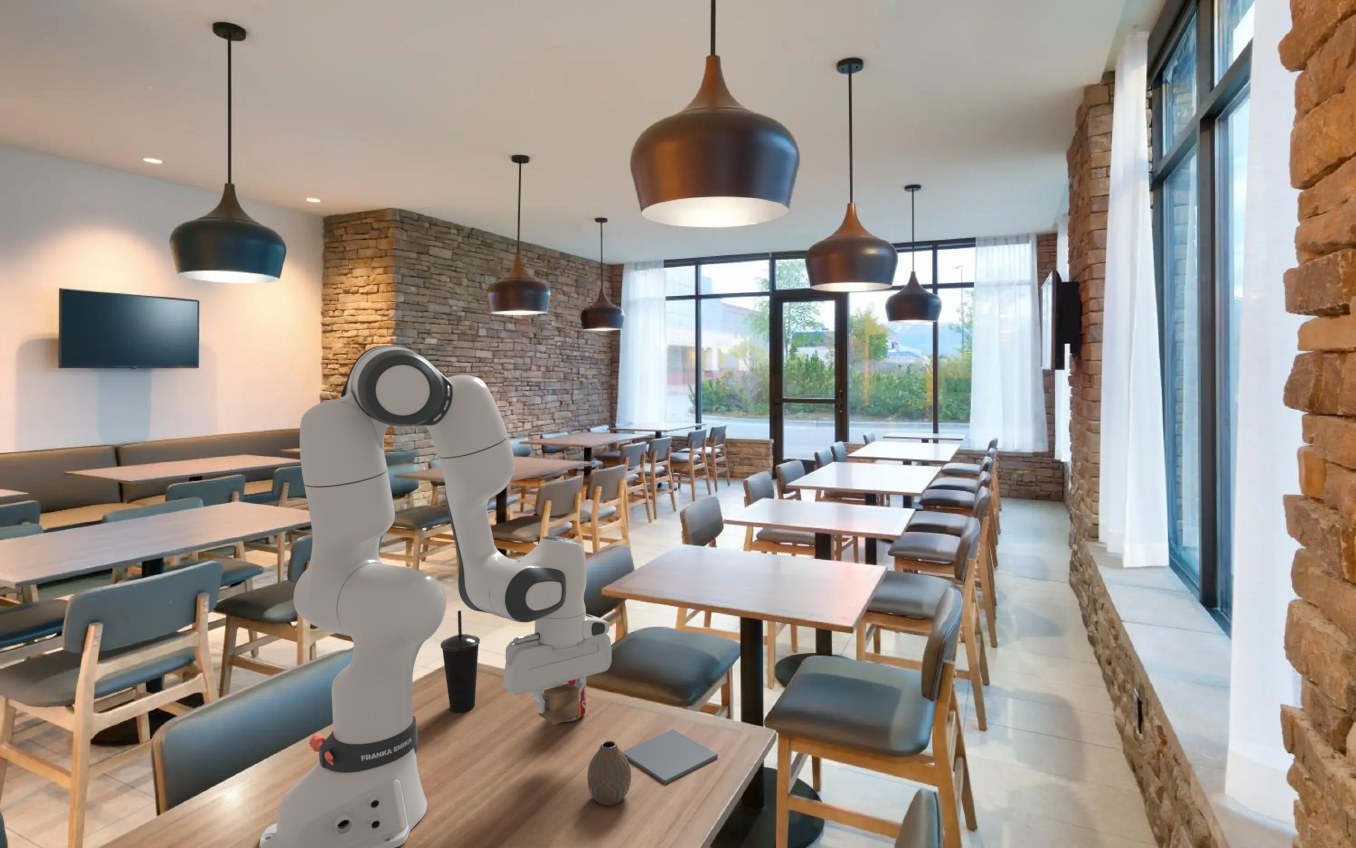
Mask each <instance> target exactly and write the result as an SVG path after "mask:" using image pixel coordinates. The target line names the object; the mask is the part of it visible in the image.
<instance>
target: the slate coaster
mask: <svg viewBox="0 0 1356 848" xmlns="http://www.w3.org/2000/svg"><path fill="white" fill-rule="evenodd" d="M621 752H622V753H623V754H624V755H625V756H626V758H627V760H628V761H629V762H631V763H633V764H634V765H636V766H637V767H639V768H641V769H642V770H644V771H645V772H646V773H648V774H650V775H651V776H653V778H656V779H657V780H658V781H660V782H662V783H663V784H664V785H666V784H669V783H670V782H672V781H674V780H675V779H679V777H680V778H681V777H682V776H684V775H686V774H688V773H689V772H692V771H694V770H695V769H697V768H699V767H702V766H704V765H706V764H708V763H710V762H712V761H713V760H716V759H718V757H719V755H718V753H717V752H715V751H713V750H711V749H709V748H708V747H706V746H705V745H702V744H700V743H698V742H697V741H695V740H693V739H691V737H688V736H686V735H684V734H683V733H680V732H679V731H677V730H675V729H673V728H672V729H670V730H668V731H666V732H663V733H660V734H659V735H657V736H654V737H652V738H650V739H648V740H645V741H643V742H640V743H638V744H636V745H634V746H632V747H630V748H627V749H625V750H621Z"/></svg>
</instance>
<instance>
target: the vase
mask: <svg viewBox="0 0 1356 848" xmlns="http://www.w3.org/2000/svg"><path fill="white" fill-rule="evenodd" d="M586 780H587V787H588V791H589V794H590V795H591V797H592V798H593V800H594V801H596V802H597V803H598V804H600V805H602V806H614V805H617V804H619V803H620V802H622V800H624V798H625V797H626V796H627V794H628V793H629V790H630V787H631V783H632V770H631V765H630V761H629V760H628V759H627V758H626V756H625V755H624V754H623V753H622V750H620V748H619V747H618V744H617V743H616V741H613V740H606V741H603V742H601V745H600V747H599V749H598V750H597V752H596V753H595V754H594V755H593V757H592V758H591V759H590V762H589V765H588V769H587V775H586Z"/></svg>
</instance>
